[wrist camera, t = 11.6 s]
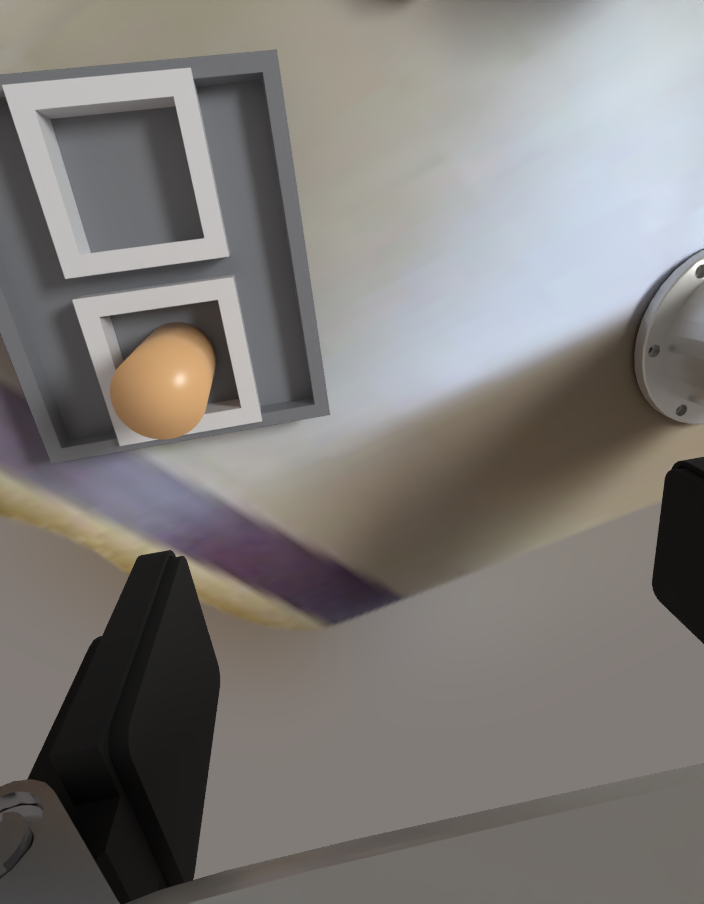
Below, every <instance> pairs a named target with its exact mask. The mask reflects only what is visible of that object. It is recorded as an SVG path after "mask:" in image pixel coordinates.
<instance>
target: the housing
mask: <svg viewBox="0 0 704 904" xmlns="http://www.w3.org/2000/svg"><path fill="white" fill-rule="evenodd" d="M170 322H184V323H188V324H192V325H194V326H196V327H198V328H199V329H201V330H202V331H203V332H204V333H205V334H206V335H207V336H208V337H209V338H210V340H211V341H212V343H213V345H214V347H215V350H216V356H217V363H216V368H215V372H214V377H213V381H212V385H211V389H210V393H209V398H208V402H207V406H206V410H205V413H204V415H203V417H202V419H201V421H200V422H199V423H198V424H197V426H196V427H195V428H193V429H192V430H191V431H190V432H188V433H186V434H184V435H182V436H180V437H177V438H173V439H166V440H159V439H152V438H148V437H145V436H142V435H140V434H138V433H136V432H134V431H133V430H131V429H130V428H128V427H127V426H126V425H125V424H124V423H123V422H122V421H121V420H120V418H119V417H118V416H117V414H116V412H115V410H114V408H113V406H112V402H111V397H110V386H111V381H112V378H113V375H114V373H115V372H116V370H117V369H118V367H119V366H120V365H121V364H122V363H123V362H124V361H125V360H126V359H127V358H128V357H129V356H130V355H131V354H132V353H133V351H134V350H135V349H136V348H137V347H138V346H139V345H140V344H141V343H142V342H143V341H144V340H145V339H146V338H147V337H148V336H149V335H150V334H151V333H152V332H153V331H154V330H155V329H157V328H158V327H160V326H161V325H164V324H166V323H170ZM0 333H1V336H2V338H3V341H4V344H5V346H6V349H7V351H8V354H9V356H10V359H11V362H12V364H13V367H14V369H15V372H16V374H17V377H18V379H19V382H20V385H21V387H22V390H23V392H24V395H25V397H26V400H27V403H28V405H29V408H30V410H31V413H32V415H33V418H34V420H35V423H36V426H37V428H38V431H39V433H40V436H41V438H42V441H43V444H44V446H45V449H46V451H47V454H48V456H49V459H50V461H51V464H54V463H59V462H65V461H71V460H76V459H82V458H88V457H93V456H99V455H105V454H110V453H116V452H122V451H127V450H133V449H139V448H144V447H150V446H156V445H161V444H167V443H173V442H178V441H184V440H190V439H195V438H201V437H207V436H212V435H218V434H224V433H229V432H235V431H241V430H246V429H252V428H258V427H263V426H269V425H275V424H280V423H286V422H292V421H297V420H303V419H309V418H314V417H320V416H326V415H330V411H329V404H328V398H327V391H326V384H325V377H324V370H323V363H322V356H321V350H320V343H319V336H318V329H317V322H316V315H315V309H314V302H313V295H312V288H311V281H310V274H309V267H308V261H307V254H306V247H305V240H304V233H303V226H302V219H301V213H300V206H299V199H298V192H297V185H296V178H295V172H294V165H293V158H292V151H291V144H290V137H289V130H288V124H287V117H286V110H285V103H284V96H283V89H282V82H281V76H280V69H279V62H278V55H277V50H267V51H256V52H245V53H234V54H223V55H212V56H200V57H189V58H178V59H167V60H156V61H145V62H134V63H122V64H111V65H100V66H89V67H78V68H67V69H56V70H44V71H33V72H22V73H11V74H0Z"/></svg>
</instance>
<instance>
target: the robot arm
mask: <svg viewBox="0 0 704 904" xmlns="http://www.w3.org/2000/svg"><path fill="white" fill-rule="evenodd" d="M634 361H635V374H636V378H637V382H638V386H639V388H640V390H641V392H642V394H643V396H644V398H645V399H646V400H647V401H648V403H649V404H650V405H651V406H652V407H653V408H654V409H655V410H657V411H658V412H660V413H661V414H663V415H664V416H667V417H669V418H671V419H673V420H676V421H679V422H683V423H688V424H704V250H702V251H701V252H699V253H697V254H695V255H694V256H692V257H690V258H689V259H688V260H687V261H686V262H684V263H683V264H682V265H681V266H679V267H678V268H677V269H676V270H675V271H674V272H673V273H672V274H671V275H670V276H669V278H668V279H667V280H666V281H665V282H664V283H663V284H662V285H661V287H660V288H659V290H658V291H657V293H656V294H655V296H654V297H653V299H652V300H651V302H650V304H649V306H648V308H647V310H646V312H645V315H644V317H643V319H642V322H641V325H640V328H639V331H638V335H637V339H636V346H635V353H634ZM652 586H653V591H654V593H655V595H656V597H657V599H658V600H659V601H660V602H661V603H662V604H663V605H664V606H665V607H666V608H667V609H668V610H669V611H670V612H671V613H672V614H673V615H674V616H675V617H676V618H677V619H679V621H680V622H682V623H683V624H684V625H685V626H686V627H687V628H688V629H689V630H690V631H691V632H692V633H693V634H694V635H695V636H696V637H697V638H698V639H699V640H700V641H701V642H702V643H703V644H704V457H700V458H694V459H689V460H683V461H678V462H677V463H675V464H674V466H673V467H672V470H670V471H669V472H668V473H667V474H666V477H665V482H664V490H663V498H662V506H661V514H660V522H659V530H658V538H657V546H656V554H655V563H654V570H653V578H652ZM219 689H220V672H219V666H218V662H217V659H216V656H215V652H214V649H213V646H212V642H211V639H210V636H209V633H208V630H207V626H206V622H205V619H204V616H203V613H202V609H201V606H200V603H199V599H198V596H197V593H196V589H195V586H194V583H193V579H192V576H191V573H190V569H189V566H188V563H187V560H186V558H185V557H184V556H180V557H176V556H175V554H174V552H173V551H171V550H169V551H163V552H157V553H151V554H146V555H141V556H139V557H138V558H137V560H136V562H135V564H134V566H133V568H132V571H131V573H130V575H129V577H128V580H127V582H126V584H125V586H124V589H123V591H122V593H121V595H120V598H119V600H118V602H117V604H116V606H115V609H114V611H113V613H112V615H111V618H110V620H109V622H108V624H107V627H106V629H105V631H104V633H103V636H100V637H98V638H96V639H95V640H93V642H92V644H91V645H90V647H89V649H88V651H87V653H86V655H85V657H84V659H83V661H82V664H81V666H80V668H79V670H78V672H77V675H76V676H75V679H74V681H73V683H72V685H71V687H70V689H69V692H68V694H67V696H66V698H65V700H64V702H63V704H62V707H61V709H60V711H59V713H58V715H57V717H56V719H55V721H54V724H53V726H52V728H51V730H50V732H49V734H48V736H47V739H46V741H45V743H44V745H43V747H42V750H41V752H40V754H39V756H38V758H37V760H36V762H35V764H34V767H33V769H32V771H31V773H30V775H29V777H28V779H27V780H21V781H13V782H11V783H8V784H5V785H3V786H0V904H704V763H701V764H696V765H691V766H687V767H682V768H678V769H673V770H668V771H663V772H659V773H654V774H650V775H645V776H640V777H636V778H631V779H626V780H622V781H618V782H613V783H608V784H604V785H599V786H594V787H590V788H585V789H580V790H577V791H571V792H567V793H562V794H557V795H553V796H549V797H544V798H539V799H534V800H530V801H526V802H521V803H517V804H512V805H508V806H503V807H499V808H495V809H490V810H485V811H481V812H476V813H472V814H467V815H463V816H458V817H454V818H449V819H445V820H440V821H436V822H431V823H427V824H422V825H418V826H413V827H409V828H404V829H400V830H395V831H391V832H387V833H382V834H377V835H373V836H369V837H364V838H360V839H355V840H351V841H347V842H342V843H338V844H334V845H330V846H326V847H322V848H317V849H313V850H310V851H305V852H301V853H297V854H293V855H289V856H285V857H280V858H276V859H272V860H268V861H264V862H260V863H256V864H252V865H248V866H244V867H239V868H235V869H231V870H227V871H223V872H220V873H217V874H213V875H210V876H206V877H203V878H199V879H196V880H193V878H194V873H195V866H196V858H197V851H198V844H199V836H200V829H201V822H202V814H203V807H204V799H205V792H206V785H207V778H208V770H209V763H210V756H211V748H212V741H213V733H214V726H215V719H216V711H217V704H218V697H219Z"/></svg>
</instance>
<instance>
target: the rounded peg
mask: <svg viewBox="0 0 704 904" xmlns="http://www.w3.org/2000/svg"><path fill="white" fill-rule="evenodd" d="M216 363H217V356H216V350H215V347H214V345H213V343H212V341H211V340H210V338H209V337H208V336H207V335H206V334H205V333H204V332H203V331H202V330H201V329H199V328H198V327H196V326H194V325H192V324H188V323H184V322H170V323H166V324H164V325H161V326H160V327H158V328H157V329H155V330H154V331H153V332H152V333H151V334H150V335H149V336H148V337H147V338H146V339H145V340H144V341H143V342H142V343H141V344H140V345H139V346H138V347H137V348H136V349H135V350H134V351H133V353H132V354H131V355H130V356H129V357H128V358H127V359H126V360H125V361H124V362H123V363H122V364H121V365H120V366H119V367H118V369H117V370H116V372H115V373H114V375H113V378H112V381H111V386H110V397H111V402H112V406H113V408H114V410H115V412H116V414H117V416H118V417H119V418H120V420H121V421H122V422H123V423H124V424H125V425H126V426H127V427H128V428H130V429H131V430H133V431H134V432H136V433H138V434H140V435H142V436H145V437H148V438H152V439H159V440H166V439H173V438H177V437H180V436H182V435H184V434H186V433H188V432H190V431H191V430H192V429H193V428H195V427H196V426H197V424H198V423H199V422H200V421H201V419H202V417H203V415H204V413H205V410H206V406H207V402H208V398H209V393H210V389H211V385H212V381H213V377H214V372H215V368H216Z"/></svg>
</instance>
